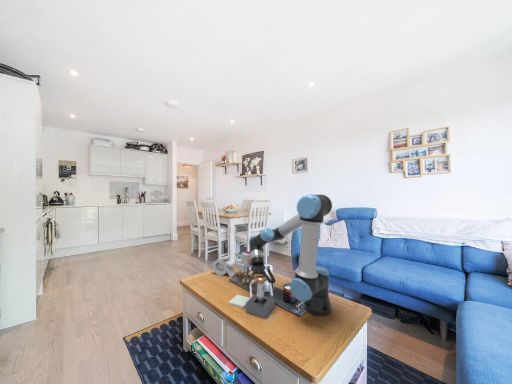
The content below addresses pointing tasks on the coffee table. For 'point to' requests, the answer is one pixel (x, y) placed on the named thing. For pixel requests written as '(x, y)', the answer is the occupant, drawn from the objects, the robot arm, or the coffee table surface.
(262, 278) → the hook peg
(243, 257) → the toy
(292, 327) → the coffee table surface
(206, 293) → the coffee table surface
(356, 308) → the coffee table surface
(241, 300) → the pad
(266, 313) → the eye block
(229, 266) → the sculpture
